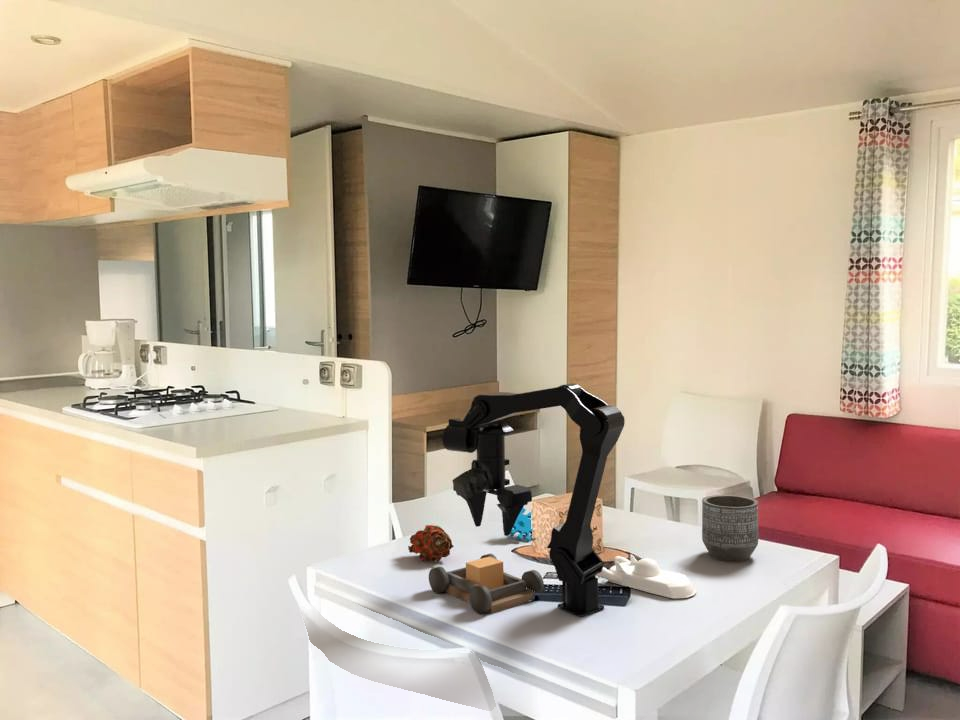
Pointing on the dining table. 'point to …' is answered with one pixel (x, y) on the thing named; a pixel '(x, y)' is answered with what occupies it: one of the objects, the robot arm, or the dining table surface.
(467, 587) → the chassis
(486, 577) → the light orange rectangular block
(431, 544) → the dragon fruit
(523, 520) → the gear
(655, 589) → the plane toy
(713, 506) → the planter
